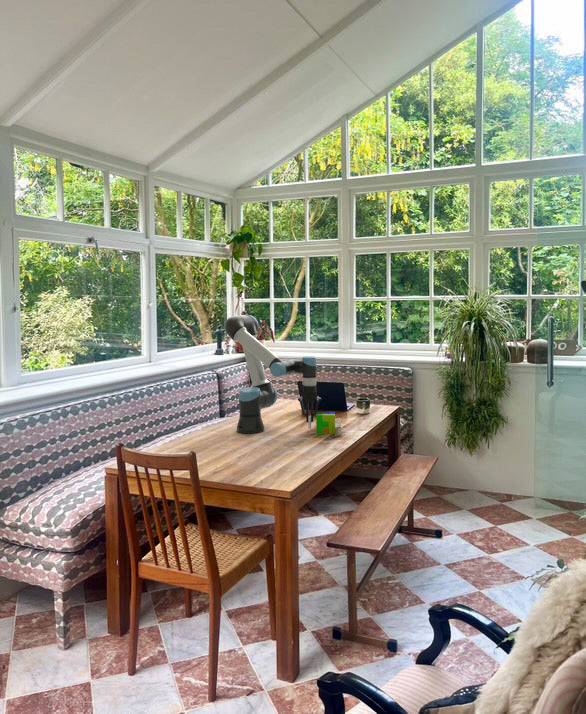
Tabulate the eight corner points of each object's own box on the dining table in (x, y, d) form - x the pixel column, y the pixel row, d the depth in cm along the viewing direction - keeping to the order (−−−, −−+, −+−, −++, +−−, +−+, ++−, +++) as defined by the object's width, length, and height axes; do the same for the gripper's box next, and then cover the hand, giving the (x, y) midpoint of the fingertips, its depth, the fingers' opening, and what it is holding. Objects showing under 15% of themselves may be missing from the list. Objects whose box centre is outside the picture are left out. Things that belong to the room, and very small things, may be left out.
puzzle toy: (335, 429, 343) (335, 411, 342) (335, 433, 333) (335, 415, 332) (316, 429, 344) (316, 411, 342) (316, 433, 334) (316, 415, 333)
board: (335, 436, 327) (335, 426, 326) (335, 427, 349) (335, 418, 348) (340, 436, 327) (340, 426, 326) (340, 427, 348) (340, 418, 348)
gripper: (297, 386, 333) (297, 429, 335) (321, 386, 332) (321, 429, 334) (297, 384, 340) (298, 426, 342) (321, 384, 339) (321, 426, 342)
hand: (309, 428), depth 338 cm, fingers closed
